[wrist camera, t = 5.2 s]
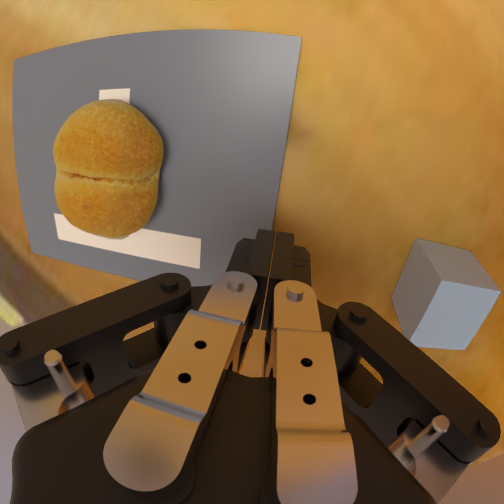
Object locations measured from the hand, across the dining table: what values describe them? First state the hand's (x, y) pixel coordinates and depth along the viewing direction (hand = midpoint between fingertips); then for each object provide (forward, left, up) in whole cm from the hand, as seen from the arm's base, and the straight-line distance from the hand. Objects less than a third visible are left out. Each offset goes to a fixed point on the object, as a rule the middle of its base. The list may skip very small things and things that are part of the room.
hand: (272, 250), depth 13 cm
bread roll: (-1, -11, -6) cm, 13 cm away
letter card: (-1, -11, -6) cm, 13 cm away
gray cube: (+3, +12, -6) cm, 14 cm away
